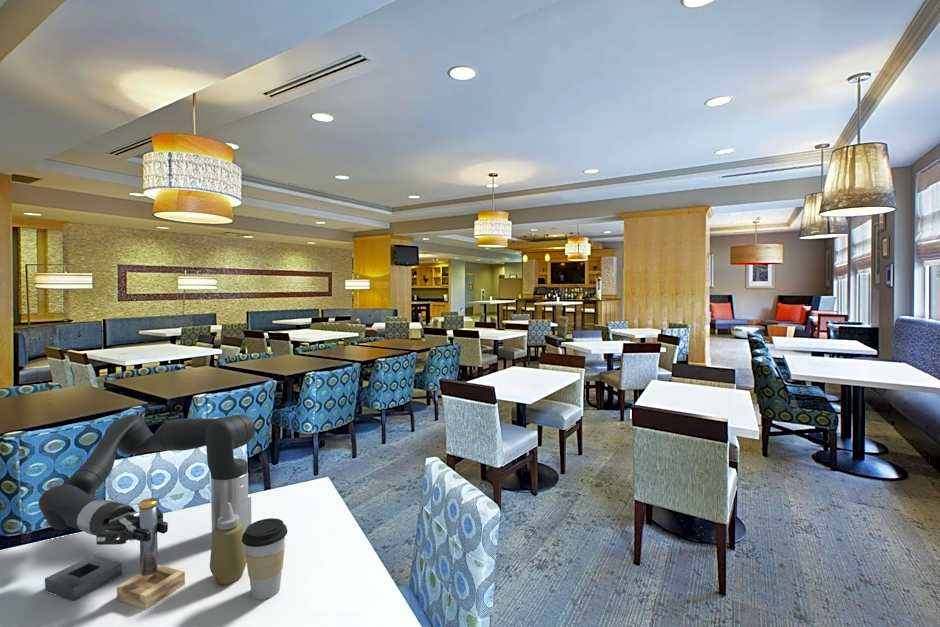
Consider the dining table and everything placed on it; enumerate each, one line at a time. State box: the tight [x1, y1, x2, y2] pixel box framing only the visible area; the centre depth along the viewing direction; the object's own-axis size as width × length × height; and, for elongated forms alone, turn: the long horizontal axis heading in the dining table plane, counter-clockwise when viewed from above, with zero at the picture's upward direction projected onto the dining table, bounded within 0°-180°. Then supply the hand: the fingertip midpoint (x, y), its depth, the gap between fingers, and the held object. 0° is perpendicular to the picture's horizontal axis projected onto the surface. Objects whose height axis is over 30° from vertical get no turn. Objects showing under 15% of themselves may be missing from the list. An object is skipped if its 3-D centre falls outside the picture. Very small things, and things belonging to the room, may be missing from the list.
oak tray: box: [116, 564, 186, 610], centre depth 102 cm, size 9×9×3 cm
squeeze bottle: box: [209, 502, 247, 585], centre depth 107 cm, size 8×8×18 cm
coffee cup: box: [242, 517, 288, 601], centre depth 102 cm, size 9×9×15 cm
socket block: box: [44, 554, 123, 602], centre depth 105 cm, size 10×10×3 cm
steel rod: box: [138, 497, 159, 576], centre depth 101 cm, size 3×3×16 cm
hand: (157, 532), depth 100 cm, fingers closed on steel rod, 3 cm apart
